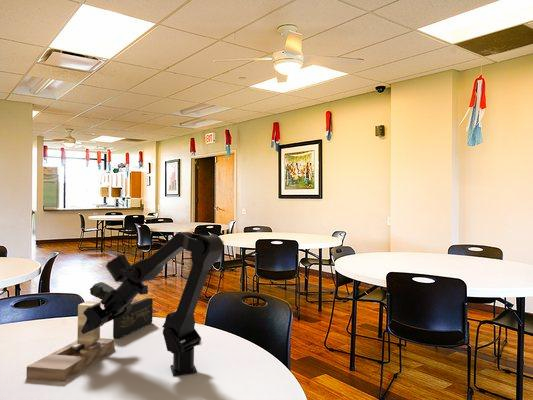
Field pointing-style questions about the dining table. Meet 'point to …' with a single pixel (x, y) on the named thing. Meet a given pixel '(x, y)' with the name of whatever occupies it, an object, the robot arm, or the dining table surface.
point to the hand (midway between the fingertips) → (91, 328)
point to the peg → (90, 336)
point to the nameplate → (133, 318)
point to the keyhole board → (68, 361)
